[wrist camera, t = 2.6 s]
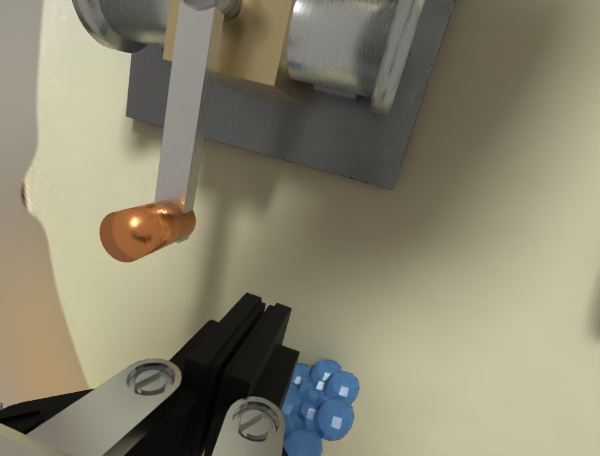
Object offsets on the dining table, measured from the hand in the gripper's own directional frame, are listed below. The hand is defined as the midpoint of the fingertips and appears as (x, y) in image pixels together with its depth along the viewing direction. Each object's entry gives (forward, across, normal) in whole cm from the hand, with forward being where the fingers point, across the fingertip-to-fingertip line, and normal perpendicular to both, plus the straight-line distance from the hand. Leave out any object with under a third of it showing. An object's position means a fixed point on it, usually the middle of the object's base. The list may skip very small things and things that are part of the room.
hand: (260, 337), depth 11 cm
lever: (+8, +8, -7) cm, 13 cm away
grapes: (+18, -2, +15) cm, 24 cm away
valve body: (+18, +8, -13) cm, 23 cm away
